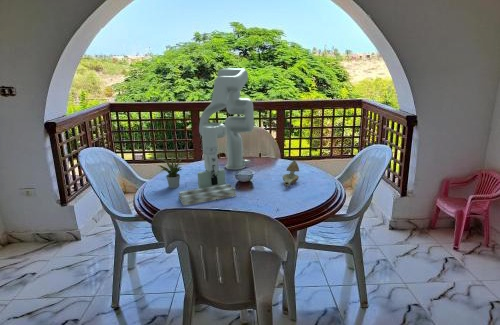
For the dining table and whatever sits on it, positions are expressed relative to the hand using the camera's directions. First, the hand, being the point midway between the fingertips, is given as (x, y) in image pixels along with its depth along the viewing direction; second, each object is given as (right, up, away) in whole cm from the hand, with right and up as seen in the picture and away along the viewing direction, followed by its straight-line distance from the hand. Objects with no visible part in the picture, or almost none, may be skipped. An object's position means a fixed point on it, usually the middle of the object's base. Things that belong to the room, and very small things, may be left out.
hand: (211, 181), depth 176 cm
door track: (-1, -7, -12) cm, 13 cm away
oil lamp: (+42, -1, +6) cm, 42 cm away
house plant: (-20, -2, +4) cm, 21 cm away
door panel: (0, -3, +1) cm, 3 cm away
